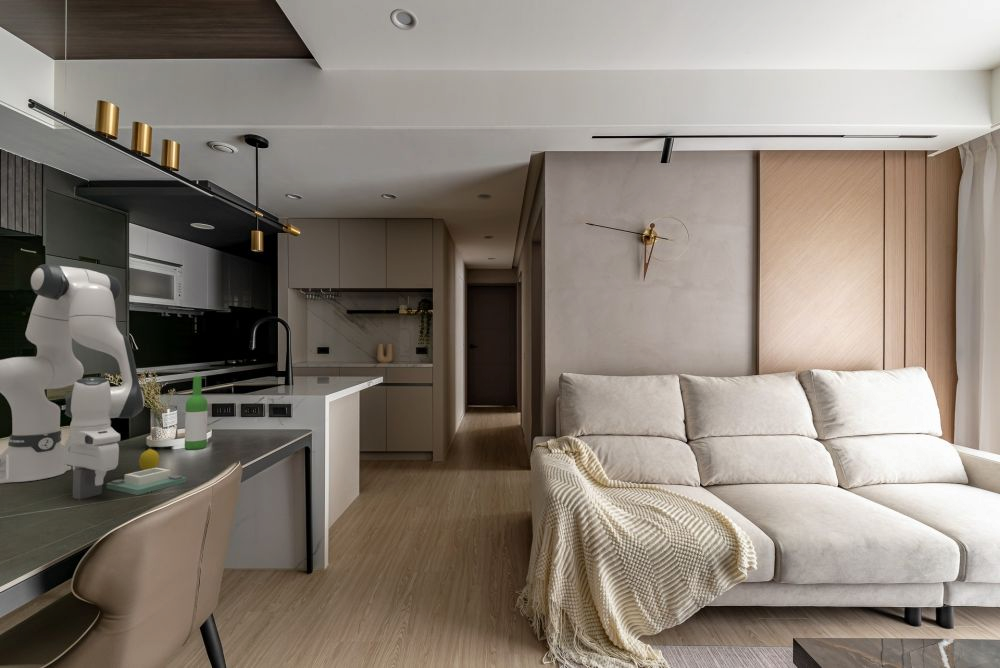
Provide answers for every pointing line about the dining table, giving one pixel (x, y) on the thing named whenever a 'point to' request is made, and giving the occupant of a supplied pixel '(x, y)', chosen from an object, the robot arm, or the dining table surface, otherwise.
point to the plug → (85, 484)
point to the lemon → (149, 459)
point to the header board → (146, 481)
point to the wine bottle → (196, 418)
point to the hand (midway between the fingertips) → (88, 483)
